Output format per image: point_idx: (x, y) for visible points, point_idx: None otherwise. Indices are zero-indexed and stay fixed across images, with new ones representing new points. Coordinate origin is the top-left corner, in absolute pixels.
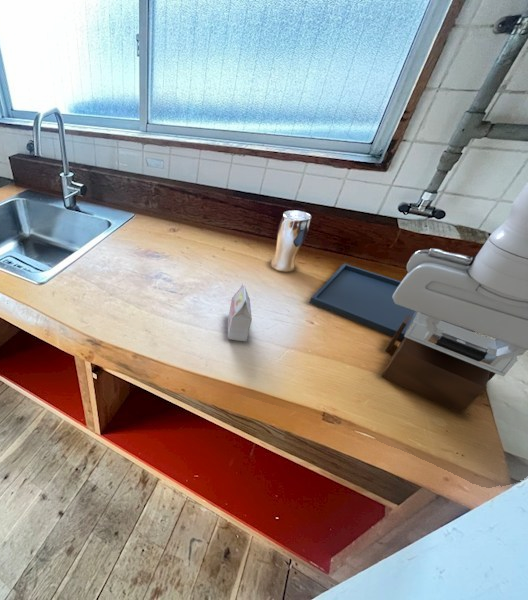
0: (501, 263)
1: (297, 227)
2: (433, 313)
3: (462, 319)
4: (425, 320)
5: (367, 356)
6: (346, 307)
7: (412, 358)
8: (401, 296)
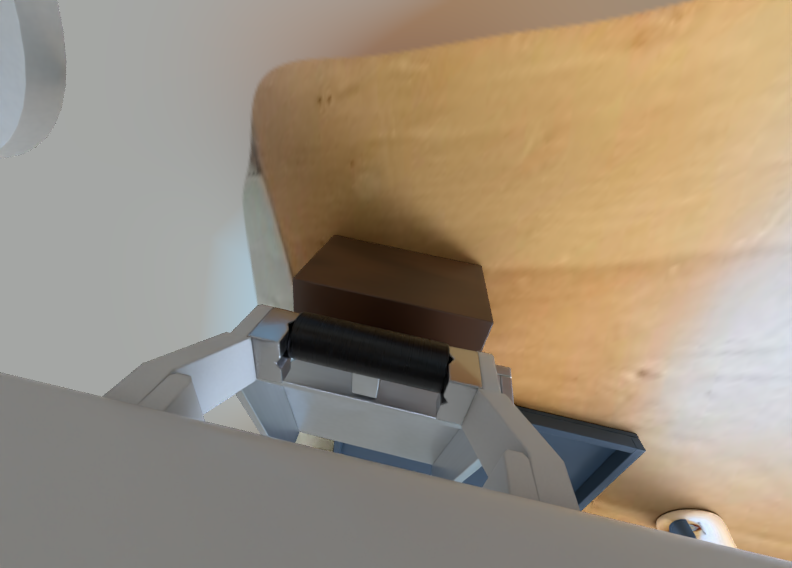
0: None
1: None
2: (617, 559)
3: (425, 557)
4: (422, 447)
5: (509, 315)
6: (546, 440)
7: (455, 310)
8: None
